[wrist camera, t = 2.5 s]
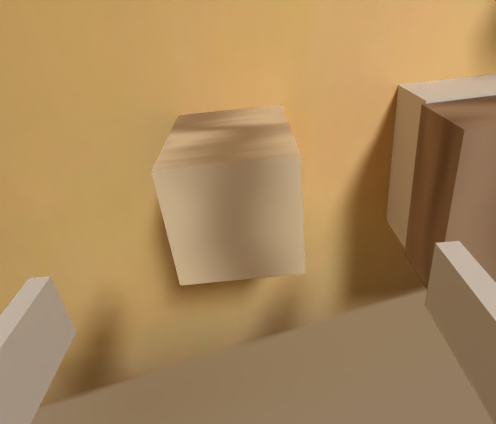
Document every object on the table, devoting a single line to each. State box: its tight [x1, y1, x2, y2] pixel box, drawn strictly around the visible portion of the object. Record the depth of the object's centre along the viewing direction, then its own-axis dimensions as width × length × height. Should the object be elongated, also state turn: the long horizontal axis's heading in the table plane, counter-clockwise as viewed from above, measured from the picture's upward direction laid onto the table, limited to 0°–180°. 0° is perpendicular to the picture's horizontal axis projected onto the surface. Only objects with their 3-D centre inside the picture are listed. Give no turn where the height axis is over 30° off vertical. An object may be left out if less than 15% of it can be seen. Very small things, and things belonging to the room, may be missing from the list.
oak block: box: [151, 104, 305, 285], centre depth 20 cm, size 6×6×8 cm
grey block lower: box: [386, 74, 496, 248], centre depth 22 cm, size 9×9×4 cm
